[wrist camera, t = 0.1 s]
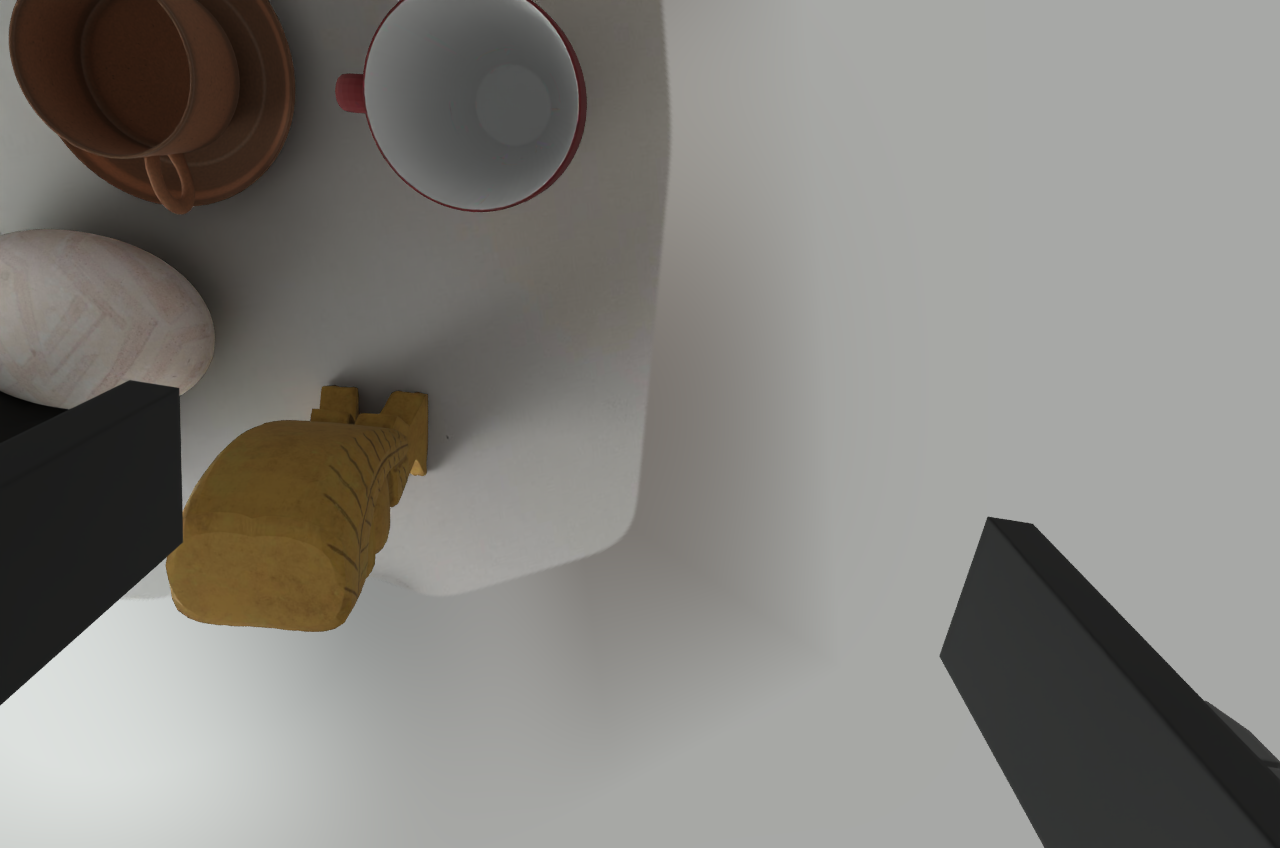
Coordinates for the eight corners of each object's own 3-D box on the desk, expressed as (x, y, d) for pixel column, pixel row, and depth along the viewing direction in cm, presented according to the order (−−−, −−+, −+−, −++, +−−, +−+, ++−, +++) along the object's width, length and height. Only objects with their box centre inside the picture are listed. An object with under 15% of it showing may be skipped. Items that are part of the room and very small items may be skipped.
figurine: (316, 471, 46) (169, 624, 32) (309, 358, 44) (149, 469, 30) (441, 481, 46) (350, 638, 32) (441, 369, 44) (343, 484, 30)
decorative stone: (235, 244, 42) (182, 259, 37) (237, 409, 45) (189, 442, 40) (-23, 204, 41) (-110, 214, 36) (-3, 374, 44) (-81, 403, 40)
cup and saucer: (358, 128, 40) (309, 129, 34) (163, 245, 42) (85, 265, 36) (203, -128, 36) (119, -176, 30) (-2, 14, 38) (-118, -6, 32)
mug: (394, 202, 41) (317, 224, 32) (364, 23, 38) (271, -10, 29) (604, 187, 41) (591, 206, 31) (590, 5, 38) (571, -34, 28)
